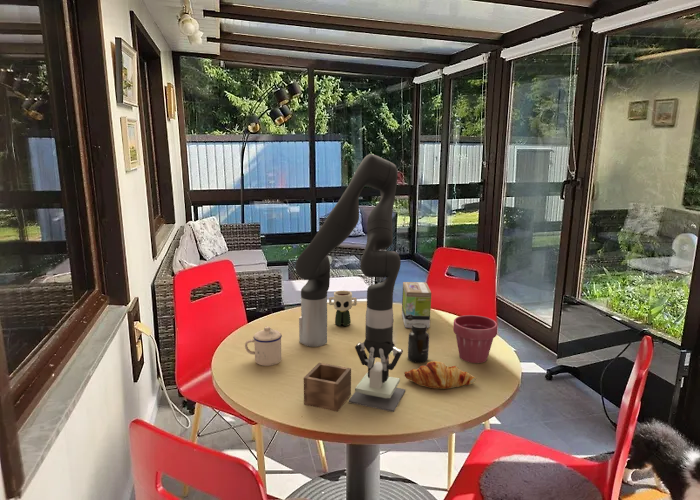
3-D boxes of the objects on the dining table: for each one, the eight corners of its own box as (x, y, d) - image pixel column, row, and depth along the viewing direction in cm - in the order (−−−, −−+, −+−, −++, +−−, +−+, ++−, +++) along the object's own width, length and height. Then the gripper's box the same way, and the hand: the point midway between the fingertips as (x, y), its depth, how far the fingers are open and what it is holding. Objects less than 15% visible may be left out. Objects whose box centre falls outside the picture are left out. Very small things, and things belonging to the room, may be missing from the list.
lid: (355, 394, 133) (355, 371, 132) (366, 378, 142) (367, 356, 141) (389, 401, 130) (390, 377, 128) (399, 384, 139) (400, 362, 137)
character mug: (328, 327, 188) (328, 295, 185) (329, 320, 195) (329, 290, 192) (356, 328, 187) (356, 296, 185) (356, 321, 194) (357, 290, 192)
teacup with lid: (283, 354, 163) (282, 321, 161) (280, 366, 155) (280, 332, 152) (247, 354, 163) (246, 322, 160) (243, 366, 154) (241, 332, 152)
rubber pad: (348, 402, 133) (348, 400, 133) (362, 383, 144) (363, 381, 144) (393, 412, 129) (394, 409, 128) (405, 391, 140) (405, 389, 139)
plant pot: (451, 347, 170) (453, 312, 167) (492, 350, 168) (495, 315, 165) (452, 365, 156) (454, 327, 154) (496, 369, 154) (499, 331, 151)
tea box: (430, 328, 187) (432, 292, 184) (404, 328, 188) (405, 292, 184) (425, 315, 202) (426, 281, 199) (401, 315, 202) (402, 281, 199)
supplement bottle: (427, 364, 157) (429, 329, 154) (406, 362, 158) (407, 328, 155) (428, 355, 163) (430, 322, 161) (408, 353, 165) (409, 320, 162)
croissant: (472, 390, 147) (472, 363, 150) (479, 390, 138) (479, 362, 140) (403, 386, 149) (403, 360, 151) (405, 386, 139) (406, 358, 141)
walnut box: (303, 404, 132) (303, 377, 130) (319, 387, 141) (318, 362, 139) (337, 411, 128) (337, 384, 127) (350, 394, 138) (351, 368, 136)
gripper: (350, 323, 131) (350, 381, 134) (400, 330, 126) (398, 391, 129) (359, 314, 138) (359, 370, 141) (407, 321, 133) (405, 378, 136)
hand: (378, 380), depth 135 cm, fingers closed on lid, 3 cm apart
